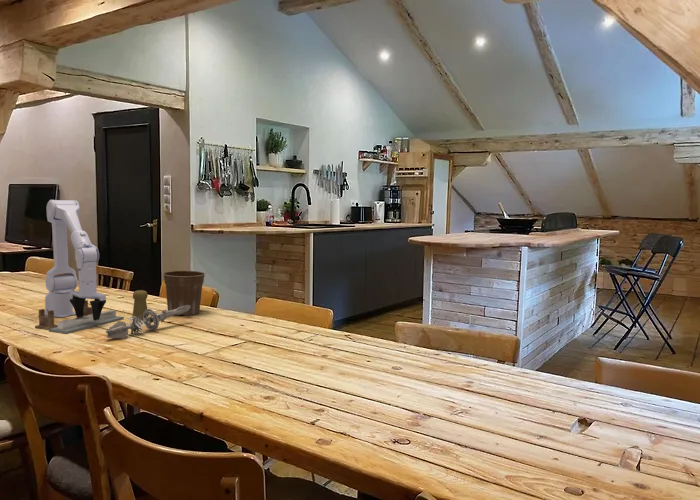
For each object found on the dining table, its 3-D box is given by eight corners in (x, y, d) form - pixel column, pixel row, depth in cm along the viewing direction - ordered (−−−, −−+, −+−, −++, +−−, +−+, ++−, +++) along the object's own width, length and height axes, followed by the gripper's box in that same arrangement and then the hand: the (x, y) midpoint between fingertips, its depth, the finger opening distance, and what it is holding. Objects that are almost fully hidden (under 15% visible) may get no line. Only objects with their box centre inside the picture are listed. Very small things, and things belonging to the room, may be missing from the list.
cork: (151, 318, 213) (151, 289, 212) (144, 321, 207) (144, 292, 206) (136, 317, 214) (136, 289, 213) (128, 320, 208) (128, 291, 207)
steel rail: (57, 329, 189) (57, 322, 189) (110, 316, 212) (110, 309, 211) (63, 330, 188) (62, 323, 188) (116, 316, 211) (115, 310, 211)
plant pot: (213, 311, 228) (213, 272, 226) (186, 319, 213) (186, 277, 212) (182, 307, 235) (182, 269, 233) (153, 314, 220) (153, 273, 219)
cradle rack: (35, 327, 194) (34, 310, 193) (87, 315, 215) (87, 299, 214) (48, 329, 191) (47, 311, 191) (100, 317, 213) (99, 300, 212)
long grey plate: (48, 331, 189) (48, 329, 189) (107, 316, 214) (107, 314, 214) (66, 333, 187) (66, 331, 186) (123, 319, 211) (123, 316, 211)
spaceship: (199, 302, 205) (184, 292, 208) (115, 330, 176) (100, 318, 179) (195, 321, 208) (181, 310, 211) (112, 351, 179) (97, 338, 182)
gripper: (62, 280, 197) (63, 318, 199) (94, 284, 192) (95, 323, 194) (78, 278, 204) (79, 315, 205) (110, 281, 199) (110, 319, 200)
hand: (88, 318), depth 200 cm, fingers open, 7 cm apart
